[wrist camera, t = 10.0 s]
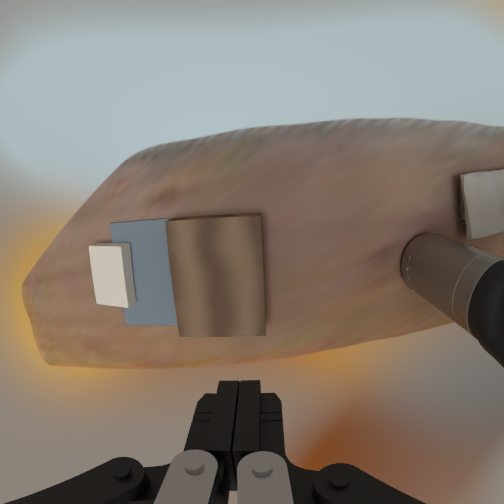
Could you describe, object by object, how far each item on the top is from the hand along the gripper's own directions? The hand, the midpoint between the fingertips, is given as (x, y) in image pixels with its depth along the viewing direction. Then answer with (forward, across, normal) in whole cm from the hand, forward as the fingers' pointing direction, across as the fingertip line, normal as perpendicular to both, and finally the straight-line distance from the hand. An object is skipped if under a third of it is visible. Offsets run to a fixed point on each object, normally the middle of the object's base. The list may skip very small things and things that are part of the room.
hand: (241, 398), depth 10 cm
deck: (+32, +5, +4) cm, 32 cm away
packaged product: (+29, -41, -1) cm, 50 cm away
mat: (+32, +16, +4) cm, 36 cm away
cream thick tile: (+29, +22, +3) cm, 36 cm away
